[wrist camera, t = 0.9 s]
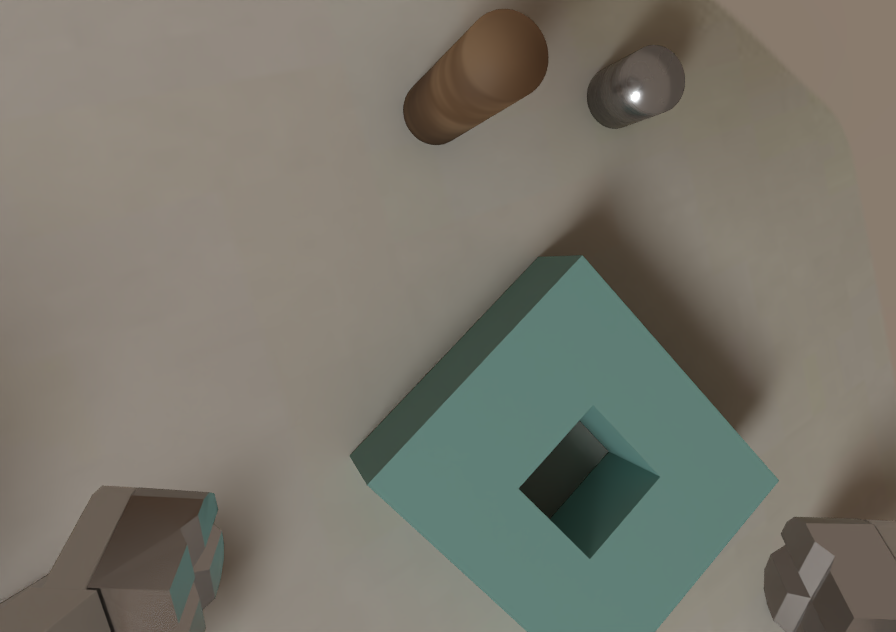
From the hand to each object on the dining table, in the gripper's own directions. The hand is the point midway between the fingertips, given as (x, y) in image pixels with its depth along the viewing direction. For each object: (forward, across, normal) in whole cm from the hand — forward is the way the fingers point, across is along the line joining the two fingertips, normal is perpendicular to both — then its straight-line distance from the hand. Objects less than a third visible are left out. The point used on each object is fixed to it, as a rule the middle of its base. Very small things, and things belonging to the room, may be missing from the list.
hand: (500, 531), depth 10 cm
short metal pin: (+32, -8, +3) cm, 33 cm away
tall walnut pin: (+28, +1, +3) cm, 29 cm away
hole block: (+21, -6, +19) cm, 29 cm away
